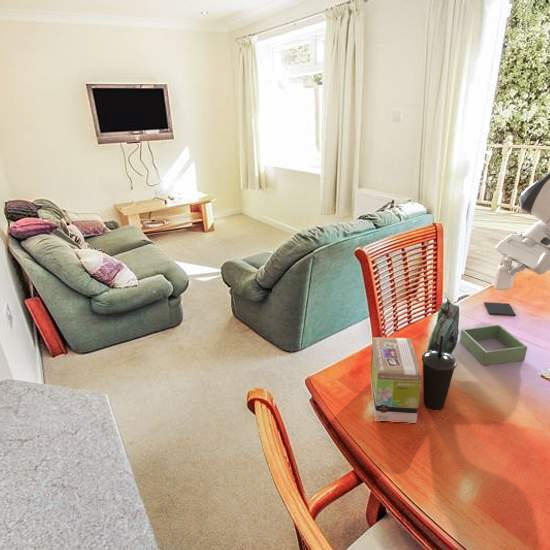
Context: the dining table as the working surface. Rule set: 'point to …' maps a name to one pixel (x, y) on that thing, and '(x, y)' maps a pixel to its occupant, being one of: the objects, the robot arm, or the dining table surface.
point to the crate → (511, 354)
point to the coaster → (499, 309)
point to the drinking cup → (437, 376)
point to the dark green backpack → (445, 328)
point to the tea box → (395, 379)
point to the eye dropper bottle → (504, 275)
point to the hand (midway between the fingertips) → (504, 271)
